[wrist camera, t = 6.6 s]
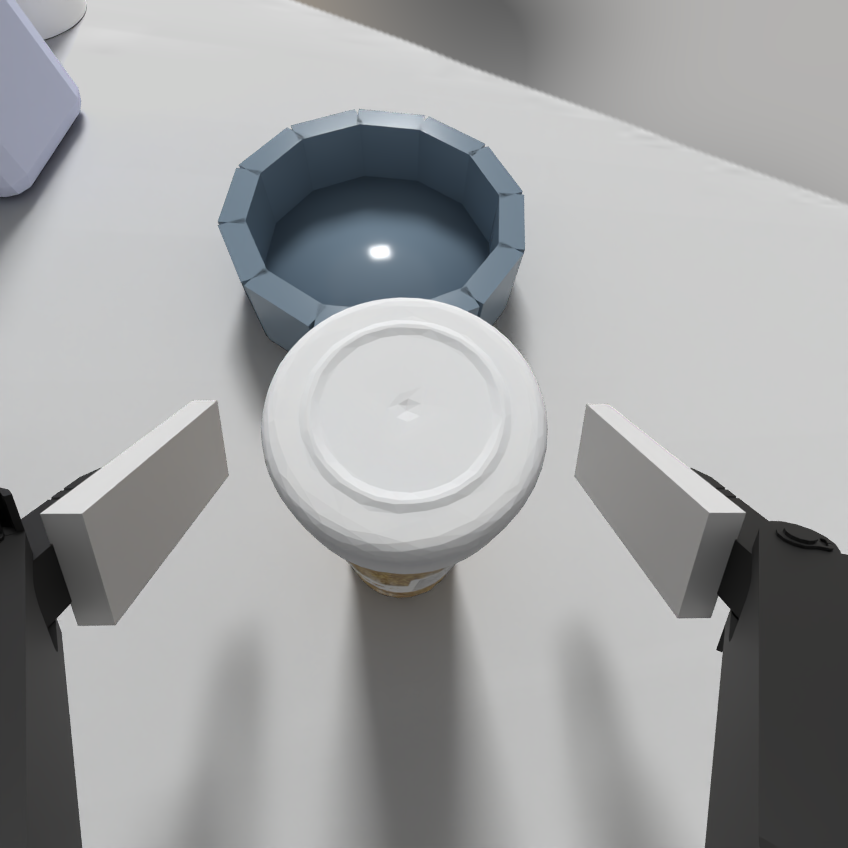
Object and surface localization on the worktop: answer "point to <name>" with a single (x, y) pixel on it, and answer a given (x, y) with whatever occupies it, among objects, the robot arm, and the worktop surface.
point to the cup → (53, 14)
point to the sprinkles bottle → (404, 438)
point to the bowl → (371, 220)
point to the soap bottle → (30, 101)
